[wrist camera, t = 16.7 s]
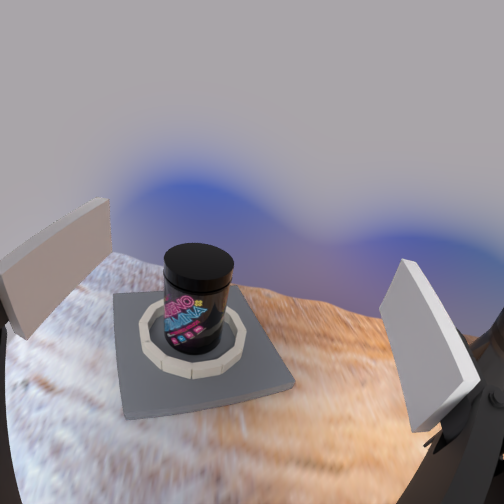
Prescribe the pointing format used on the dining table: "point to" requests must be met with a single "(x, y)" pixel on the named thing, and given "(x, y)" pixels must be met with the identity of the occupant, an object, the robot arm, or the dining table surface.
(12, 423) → the dining table surface
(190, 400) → the ring board
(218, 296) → the supplement container
